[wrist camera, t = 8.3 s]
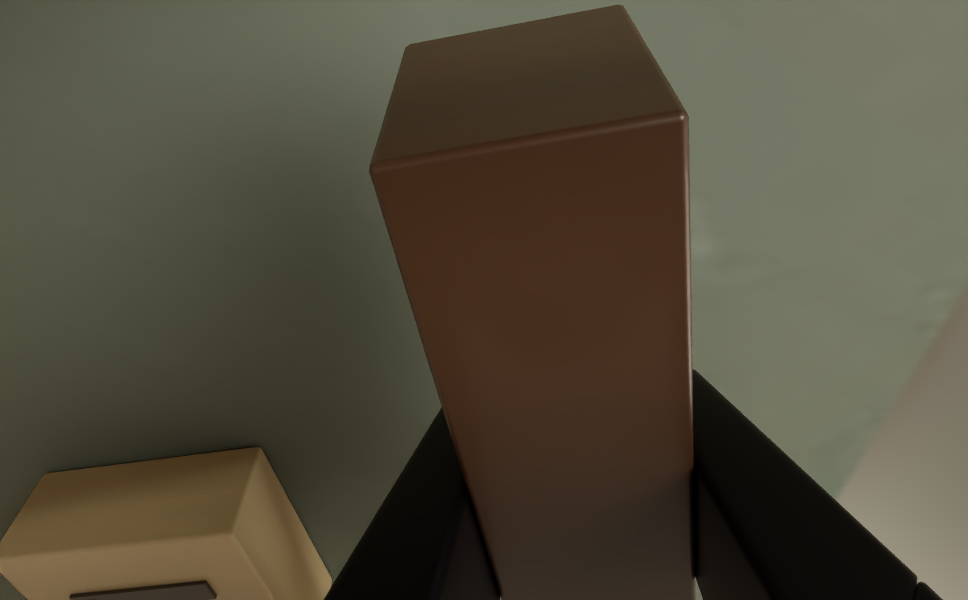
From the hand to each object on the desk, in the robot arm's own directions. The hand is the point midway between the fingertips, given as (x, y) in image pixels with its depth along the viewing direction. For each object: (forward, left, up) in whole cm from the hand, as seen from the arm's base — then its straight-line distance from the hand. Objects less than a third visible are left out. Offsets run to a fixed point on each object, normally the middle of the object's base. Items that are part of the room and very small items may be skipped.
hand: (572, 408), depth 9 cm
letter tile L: (+8, -10, -5) cm, 13 cm away
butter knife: (+6, 0, -1) cm, 6 cm away
